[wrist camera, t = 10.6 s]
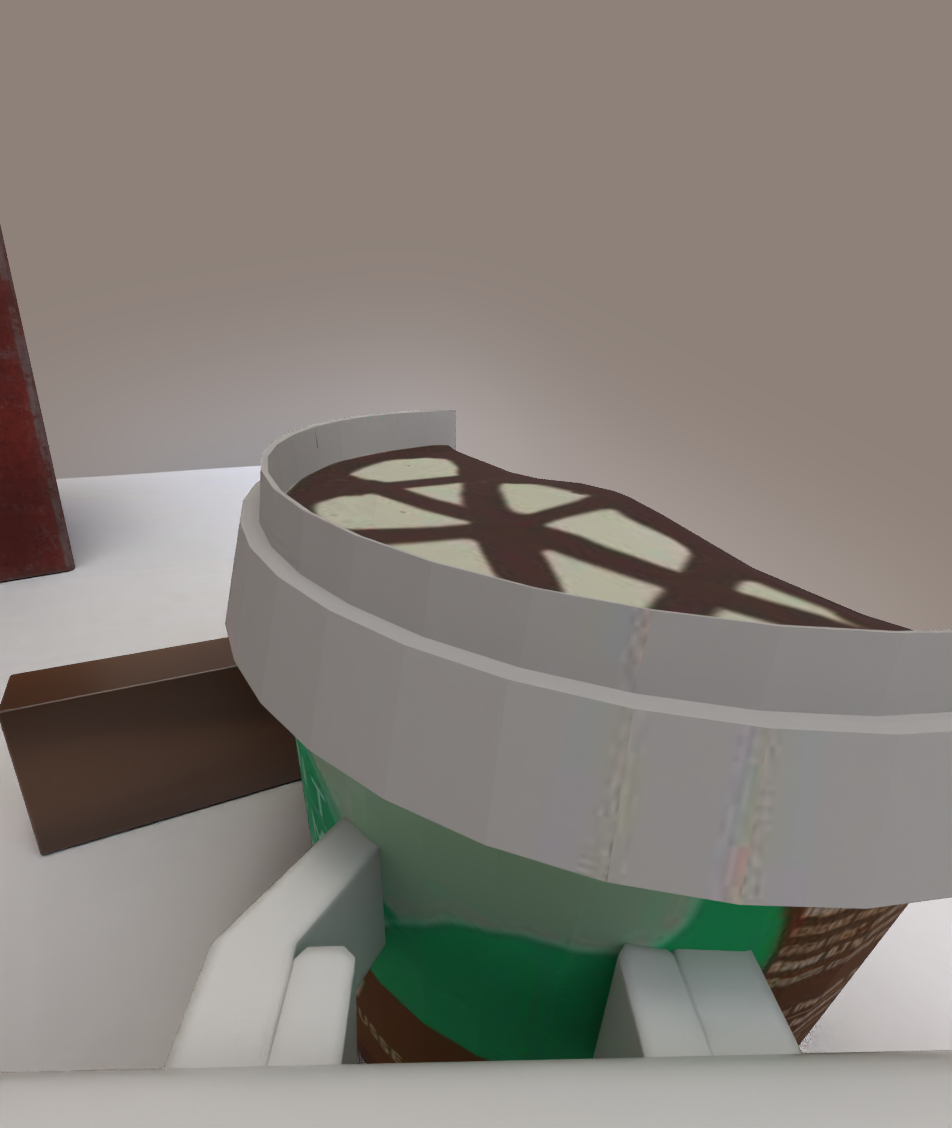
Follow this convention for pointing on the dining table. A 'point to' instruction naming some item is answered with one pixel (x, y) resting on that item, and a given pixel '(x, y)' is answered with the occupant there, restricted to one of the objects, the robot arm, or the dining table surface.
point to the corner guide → (139, 740)
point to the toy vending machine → (25, 458)
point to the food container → (577, 738)
